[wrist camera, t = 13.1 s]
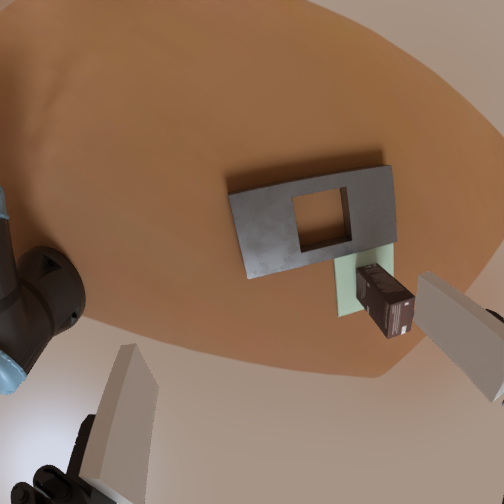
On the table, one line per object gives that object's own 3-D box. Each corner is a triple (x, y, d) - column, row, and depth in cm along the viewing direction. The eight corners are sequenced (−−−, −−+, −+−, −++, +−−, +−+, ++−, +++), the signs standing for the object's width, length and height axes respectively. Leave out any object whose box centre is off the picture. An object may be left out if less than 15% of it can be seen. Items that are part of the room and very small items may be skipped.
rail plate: (246, 272, 42) (247, 279, 40) (227, 192, 38) (228, 195, 36) (388, 236, 43) (396, 241, 40) (382, 164, 39) (391, 165, 36)
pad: (337, 315, 47) (338, 316, 46) (332, 257, 43) (334, 258, 42) (391, 297, 47) (392, 299, 46) (391, 241, 43) (393, 243, 43)
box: (353, 268, 43) (390, 304, 32) (377, 261, 43) (418, 295, 32) (353, 300, 45) (387, 340, 34) (376, 293, 46) (413, 330, 34)
